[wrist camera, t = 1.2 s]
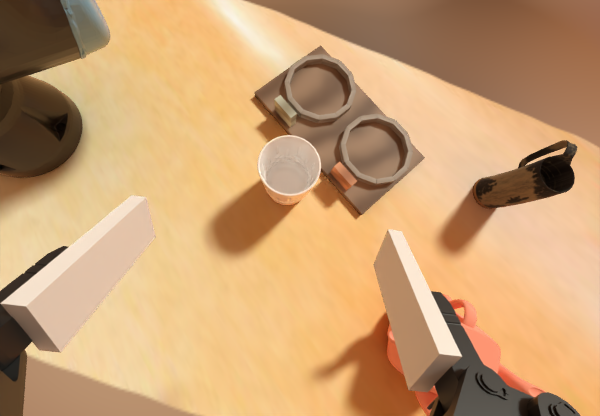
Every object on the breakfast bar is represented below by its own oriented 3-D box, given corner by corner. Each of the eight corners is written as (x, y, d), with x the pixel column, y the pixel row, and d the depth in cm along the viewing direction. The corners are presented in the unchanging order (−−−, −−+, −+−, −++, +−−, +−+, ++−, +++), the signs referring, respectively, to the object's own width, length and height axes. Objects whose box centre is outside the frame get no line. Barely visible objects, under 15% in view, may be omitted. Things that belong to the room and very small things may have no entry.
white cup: (263, 209, 40) (257, 196, 30) (262, 162, 41) (257, 134, 31) (312, 208, 41) (322, 195, 31) (309, 162, 42) (319, 135, 32)
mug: (497, 215, 43) (579, 202, 31) (468, 200, 43) (540, 182, 31) (510, 175, 44) (593, 149, 33) (482, 161, 44) (555, 130, 33)
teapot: (479, 359, 39) (556, 402, 28) (401, 404, 37) (451, 469, 26) (436, 272, 40) (493, 280, 30) (359, 310, 38) (390, 335, 28)
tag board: (255, 96, 43) (252, 80, 39) (319, 50, 45) (323, 31, 42) (360, 215, 41) (369, 211, 37) (421, 159, 44) (435, 151, 40)
